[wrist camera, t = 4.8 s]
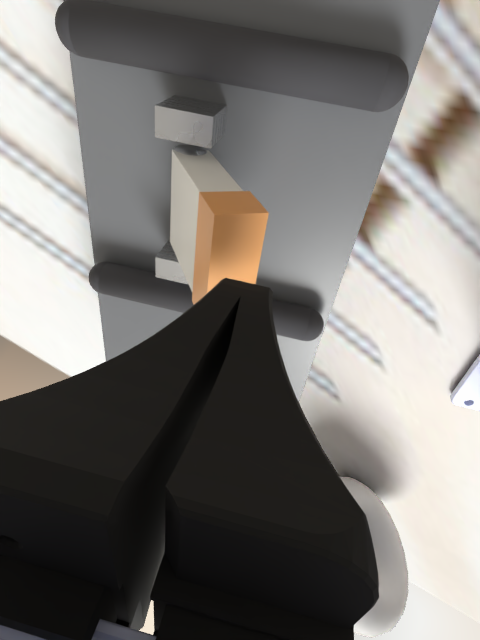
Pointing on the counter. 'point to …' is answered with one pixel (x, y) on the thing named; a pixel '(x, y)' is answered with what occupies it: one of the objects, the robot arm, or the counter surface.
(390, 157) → the counter surface
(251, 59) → the box
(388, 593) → the donut
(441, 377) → the counter surface
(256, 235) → the lever
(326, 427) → the counter surface
